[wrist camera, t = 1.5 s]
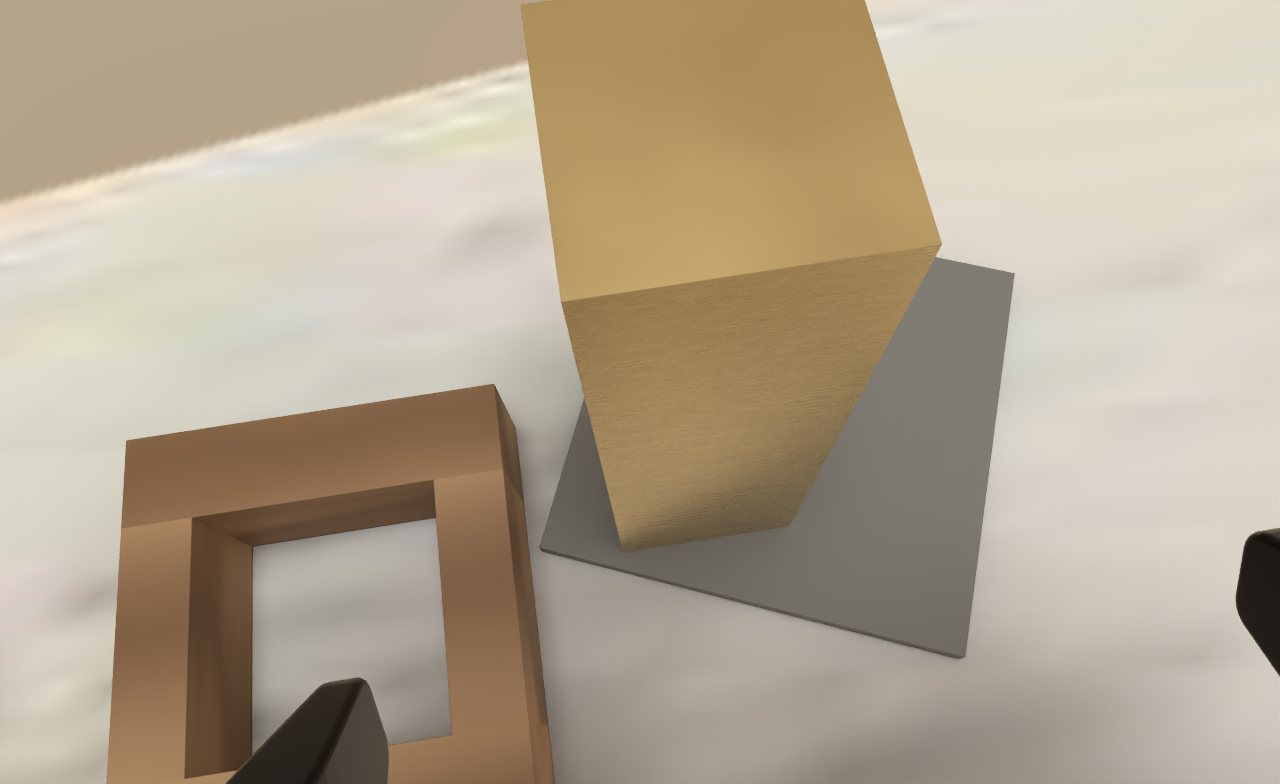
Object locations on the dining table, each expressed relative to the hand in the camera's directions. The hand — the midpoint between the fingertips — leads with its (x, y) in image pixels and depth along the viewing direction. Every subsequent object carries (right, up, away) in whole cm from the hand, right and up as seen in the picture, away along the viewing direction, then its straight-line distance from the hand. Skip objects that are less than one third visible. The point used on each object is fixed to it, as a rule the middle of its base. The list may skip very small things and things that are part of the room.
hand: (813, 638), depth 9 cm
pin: (-1, +1, +13) cm, 13 cm away
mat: (+2, +2, +14) cm, 14 cm away
